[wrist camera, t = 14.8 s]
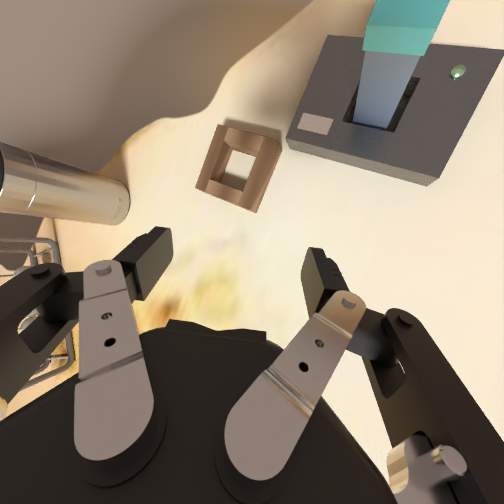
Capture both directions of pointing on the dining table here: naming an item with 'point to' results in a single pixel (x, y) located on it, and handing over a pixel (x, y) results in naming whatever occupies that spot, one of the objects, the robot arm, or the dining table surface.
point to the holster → (219, 157)
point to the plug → (393, 55)
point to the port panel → (412, 120)
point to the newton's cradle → (25, 323)
